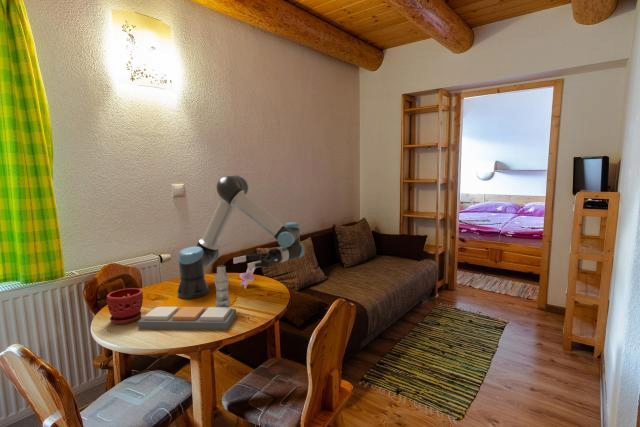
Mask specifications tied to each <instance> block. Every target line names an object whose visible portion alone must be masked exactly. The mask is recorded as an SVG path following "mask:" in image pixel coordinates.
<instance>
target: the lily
mask: <svg viewBox="0 0 640 427" xmlns="http://www.w3.org/2000/svg"><path fill="white" fill-rule="evenodd" d="M255 270H256V268H253V269H248V268H247V269H246V272H243V273H242V272H241V273H240V274H239V279H241V282H240V283H239V286H240V287H241V286H242V285H243V287H244V289H245V290H246V289H247V287H248V285H249V282H252V283H253V284H255V282H254V281H255V278H254V276H253V274H254V272H255Z"/></svg>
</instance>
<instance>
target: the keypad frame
mask: <svg viewBox="0 0 640 427" xmlns="http://www.w3.org/2000/svg"><path fill="white" fill-rule="evenodd" d="M180 309H181V308H178V311H179V310H180ZM207 309H208V308H204V312H205V311H206V310H207ZM204 312H203V313H204ZM176 313H177V312H176ZM176 313H175V314H176ZM203 313H202V314H203ZM202 314H201V315H202ZM201 315H200V316H201ZM235 318H237V309H236V308H231V312H230V313H229V315H228V316H227V317H226V319H225V320H224V321H200V317H199V318H198V319H197V320H196V321H182V320H172V317H171V318H170V319H169V320H145V317H144V316H143V317H142V318H141V319H139V320H138V321H137V329H139V330H146V329H147V330H195V331H196V330H197V331H199V330H200V331H201V330H203V331H205V330H209V331H210V330H211V331H212V330H213V331H215V330H216V331H227V330H228V329H229V327H230V326H231V324H232V323H233V322H234V320H235Z"/></svg>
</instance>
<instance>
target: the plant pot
mask: <svg viewBox="0 0 640 427" xmlns="http://www.w3.org/2000/svg"><path fill="white" fill-rule="evenodd" d="M143 292H144V291H143V290H142V289H141V288H137V287H131V288H128V287H127V288H121V289H117V290H114V291H112V292H109V293H108V294H107V295H106V302H107V303H106V304H107V308H108V312H109V314H110V317H109V320H110V322H111V323H113V324H115V325H123V324H129V323H132V322H134V321H136V320H138V319H139V318H140V317H141V316H142V314H143V313H142V311H141V309H142V306H143V299H144V295H143V294H144V293H143Z"/></svg>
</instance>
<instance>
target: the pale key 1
mask: <svg viewBox="0 0 640 427" xmlns="http://www.w3.org/2000/svg"><path fill="white" fill-rule="evenodd" d="M178 309H179V306H156V307H154V308H153V309H152V310H151V311H149V312H148V313H147V314H145V315H144V316H143V317H145V320H169V319H170V318H171V317H172V316H173V315H174V314H175V313H176V312H178Z"/></svg>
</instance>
